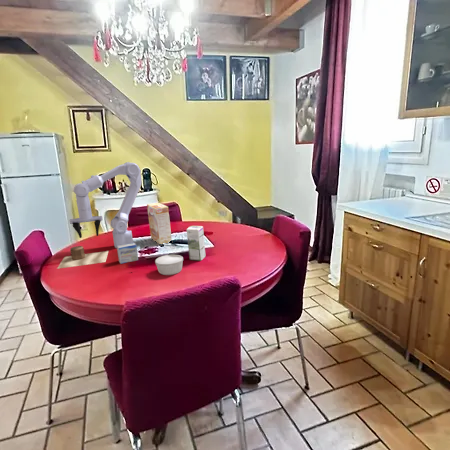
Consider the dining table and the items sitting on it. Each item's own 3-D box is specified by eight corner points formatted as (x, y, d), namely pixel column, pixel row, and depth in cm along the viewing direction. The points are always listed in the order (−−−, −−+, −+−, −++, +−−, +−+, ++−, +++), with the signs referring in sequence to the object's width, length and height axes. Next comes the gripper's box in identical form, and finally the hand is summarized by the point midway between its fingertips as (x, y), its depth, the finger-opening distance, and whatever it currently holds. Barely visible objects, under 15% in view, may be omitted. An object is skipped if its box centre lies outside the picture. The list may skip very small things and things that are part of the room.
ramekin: (187, 266, 142) (186, 254, 141) (178, 277, 131) (177, 264, 130) (163, 265, 145) (161, 254, 143) (152, 276, 134) (150, 263, 133)
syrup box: (206, 256, 152) (203, 225, 148) (200, 261, 147) (198, 229, 143) (194, 255, 154) (191, 225, 150) (189, 260, 148) (186, 228, 145)
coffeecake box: (150, 238, 185) (146, 204, 180) (163, 236, 188) (159, 202, 183) (159, 245, 172) (155, 208, 167) (172, 242, 175) (168, 206, 170)
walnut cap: (87, 256, 158) (85, 246, 157) (79, 260, 153) (77, 250, 152) (77, 255, 159) (75, 245, 158) (69, 260, 154) (67, 249, 153)
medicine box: (121, 267, 146) (118, 248, 144) (119, 264, 150) (116, 245, 147) (139, 263, 149) (136, 244, 147) (136, 260, 153) (134, 242, 151)
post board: (109, 253, 164) (107, 244, 163) (106, 265, 149) (104, 254, 148) (65, 259, 160) (63, 249, 158) (57, 271, 145) (55, 261, 143)
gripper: (101, 205, 164) (105, 232, 167) (69, 209, 161) (74, 236, 164) (99, 208, 157) (104, 236, 161) (66, 212, 154) (72, 240, 157)
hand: (89, 236), depth 162 cm, fingers open, 7 cm apart
